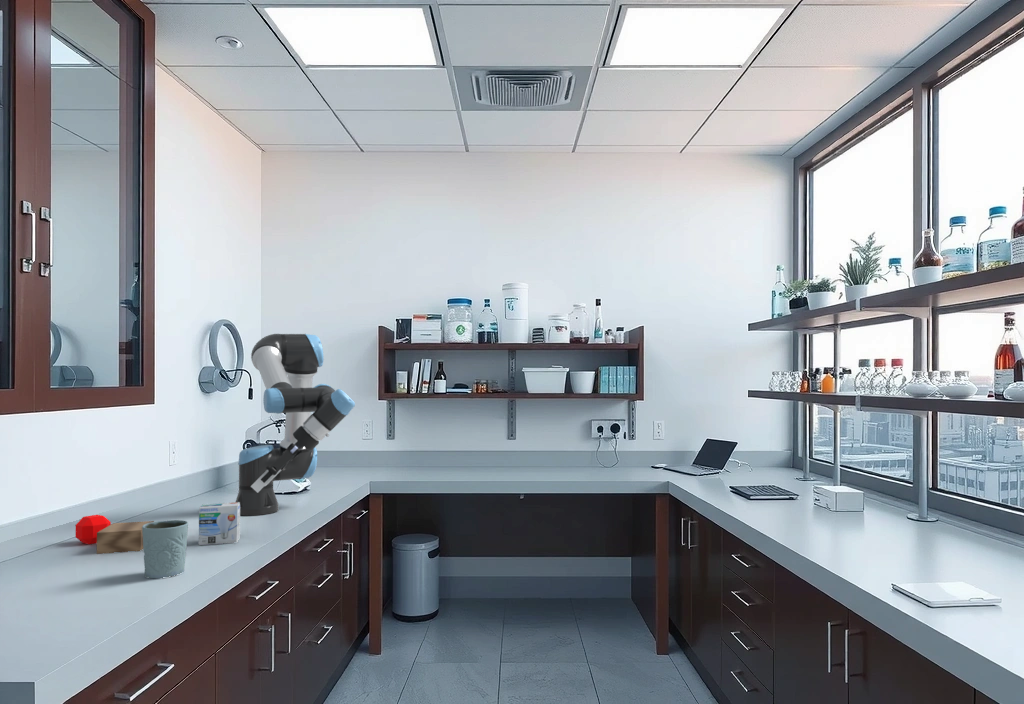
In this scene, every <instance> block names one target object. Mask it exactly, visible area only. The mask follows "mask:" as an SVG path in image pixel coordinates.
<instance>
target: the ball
mask: <svg viewBox="0 0 1024 704" xmlns="http://www.w3.org/2000/svg"><path fill="white" fill-rule="evenodd" d="M111 524H112V522H111V521H110V520H109V519H108V518H107V517H106V516H104V515H101V514H93V515H86V516H82V517H81V519H80V520H79V521H78V522H77V523H76V524H75V535H74V536H75V538H76V539H77V540H78V541H80V542H81V543H82V544H84V545H85V544H86V545H95V544H97V532H99V531H101V530H102V529H104V528H106V527H108V526H109V525H111Z"/></svg>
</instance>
